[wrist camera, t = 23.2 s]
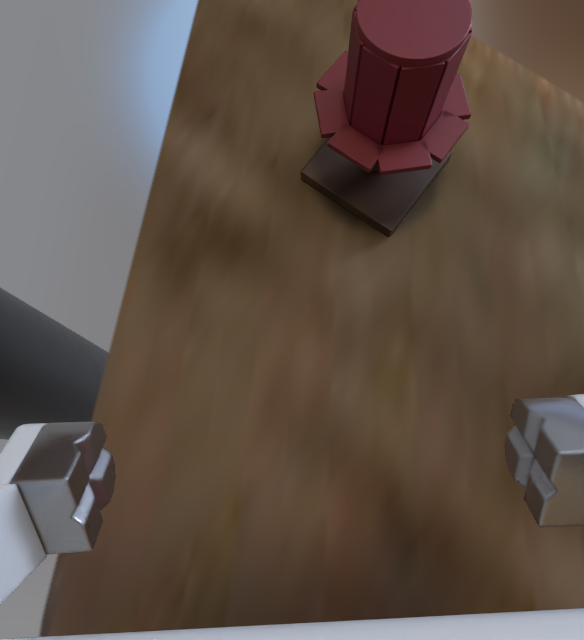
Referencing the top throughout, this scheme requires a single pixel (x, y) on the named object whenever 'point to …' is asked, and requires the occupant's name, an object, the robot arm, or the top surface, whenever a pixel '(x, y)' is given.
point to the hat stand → (369, 187)
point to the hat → (398, 85)
